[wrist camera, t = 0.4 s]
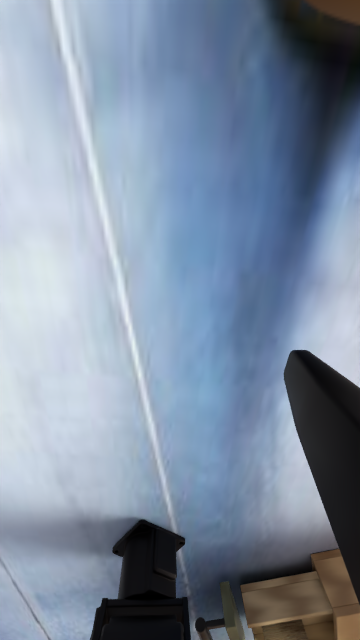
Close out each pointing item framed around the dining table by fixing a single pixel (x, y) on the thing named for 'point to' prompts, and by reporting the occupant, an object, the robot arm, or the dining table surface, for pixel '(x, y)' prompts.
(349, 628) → the cabinet
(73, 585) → the dining table surface
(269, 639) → the metal box
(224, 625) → the drawer
